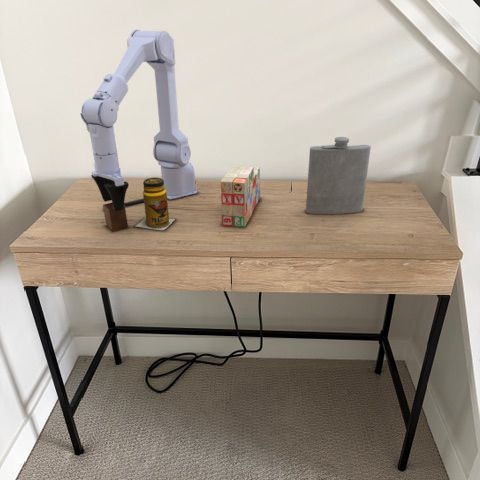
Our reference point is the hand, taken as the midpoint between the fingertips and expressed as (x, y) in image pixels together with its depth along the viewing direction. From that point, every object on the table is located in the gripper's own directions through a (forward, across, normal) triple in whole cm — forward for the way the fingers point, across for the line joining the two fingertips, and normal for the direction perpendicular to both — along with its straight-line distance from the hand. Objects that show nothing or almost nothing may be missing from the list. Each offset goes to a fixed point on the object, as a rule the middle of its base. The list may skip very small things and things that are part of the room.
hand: (113, 205), depth 131 cm
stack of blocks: (+6, +10, +33) cm, 35 cm away
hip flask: (+6, +26, +54) cm, 60 cm away
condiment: (+6, +4, +9) cm, 12 cm away
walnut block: (+6, 0, 0) cm, 6 cm away
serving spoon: (+6, -12, +9) cm, 16 cm away
